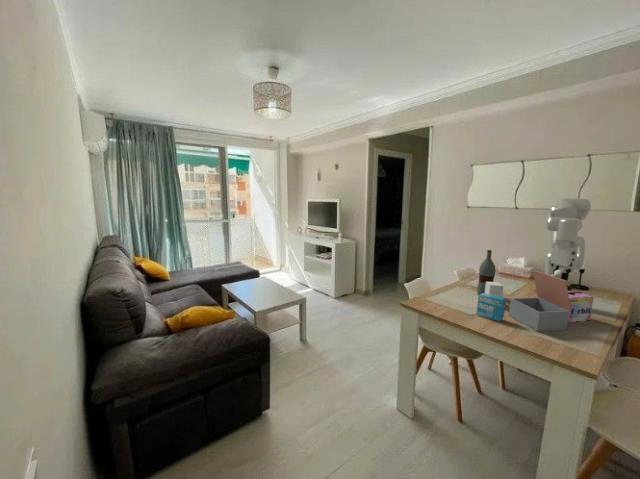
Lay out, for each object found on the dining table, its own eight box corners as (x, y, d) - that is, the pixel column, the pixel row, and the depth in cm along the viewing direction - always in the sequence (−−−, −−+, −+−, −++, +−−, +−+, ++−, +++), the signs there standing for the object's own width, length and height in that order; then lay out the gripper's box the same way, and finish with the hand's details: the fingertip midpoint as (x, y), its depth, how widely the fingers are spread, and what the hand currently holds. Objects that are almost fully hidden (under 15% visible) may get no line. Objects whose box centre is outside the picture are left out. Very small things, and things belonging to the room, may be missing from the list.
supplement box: (501, 306, 169) (504, 286, 166) (487, 305, 170) (490, 285, 168) (496, 301, 176) (498, 282, 174) (483, 300, 177) (485, 281, 175)
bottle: (494, 298, 181) (499, 252, 176) (478, 296, 184) (483, 251, 179) (490, 293, 190) (495, 249, 185) (475, 291, 193) (480, 248, 188)
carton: (535, 314, 158) (537, 297, 156) (566, 330, 140) (569, 311, 138) (508, 315, 156) (511, 298, 154) (536, 331, 138) (539, 312, 137)
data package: (476, 315, 156) (478, 294, 154) (478, 312, 159) (480, 292, 157) (501, 322, 148) (504, 300, 146) (503, 319, 151) (506, 298, 149)
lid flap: (537, 297, 156) (551, 292, 156) (570, 311, 138) (585, 305, 138) (532, 269, 153) (546, 264, 153) (564, 279, 135) (580, 274, 135)
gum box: (577, 314, 159) (581, 291, 156) (592, 320, 151) (597, 296, 149) (540, 317, 155) (544, 293, 152) (554, 324, 147) (558, 299, 145)
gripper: (589, 246, 134) (583, 284, 137) (557, 240, 151) (551, 274, 154) (575, 246, 133) (568, 284, 136) (544, 240, 150) (539, 274, 153)
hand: (559, 278), depth 145 cm, fingers closed on lid flap, 4 cm apart
